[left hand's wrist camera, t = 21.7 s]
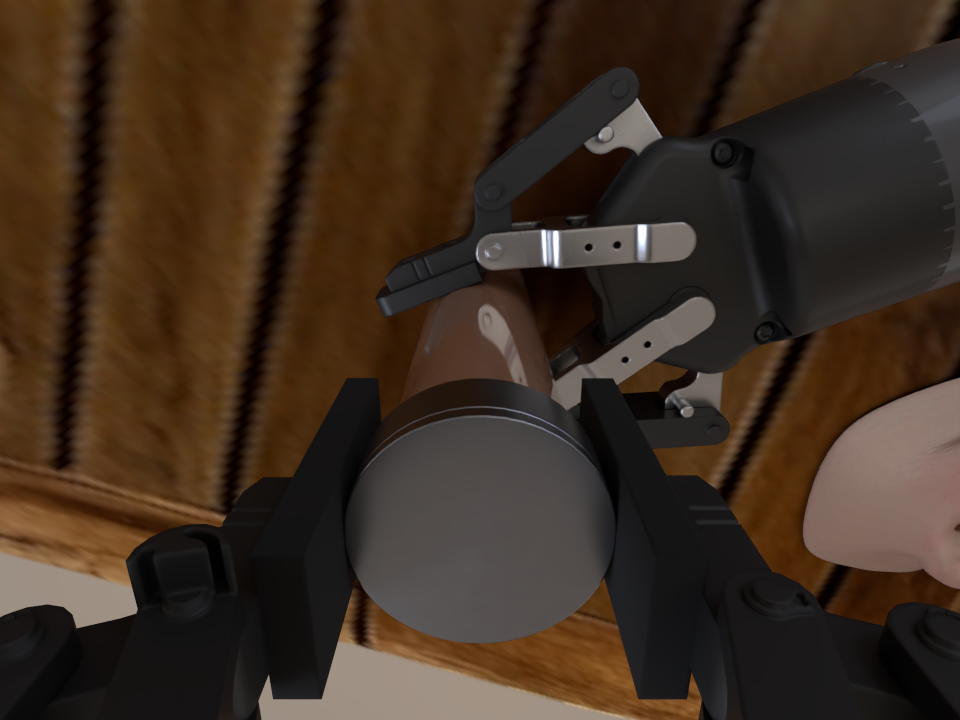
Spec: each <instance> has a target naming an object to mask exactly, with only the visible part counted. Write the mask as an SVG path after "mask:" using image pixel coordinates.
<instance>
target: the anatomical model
mask: <svg viewBox="0 0 960 720" xmlns="http://www.w3.org/2000/svg"><path fill="white" fill-rule="evenodd" d="M803 538H804V543H805V545H806V547H807V549H808V550H809V551H810V552H811V553H812V554H814V555H815V556H817V557H819V558H821V559H823V560H826V561H830V562H833V563H837V564H841V565H845V566H850V567H855V568H860V569H865V570H873V571H886V572H911V571H916V570H920V569H924V570H925V571H926V572H927V573H928V574H930V575H931V576H933V577H934V578H936V579H937V580H939V581H940V582H942V583H943V584H945V585H948V586H950V587H953V588H958V589H960V378H957V379H954V380H950V381H947V382H944V383H941V384H938V385H935V386H932V387H929V388H926V389H923V390H921V391H918V392H915V393H912V394H910V395H907V396H905V397H902V398H900V399H897V400H895V401H893V402H891V403H888V404H886V405H884V406H882V407H880V408H878V409H876V410H874V411H872V412H870V413H869V414H867V415H865V416H864V417H862V418H860V419H859V420H857V421H856V422H855V423H853V424H852V425H851V426H850V427H849V428H848V429H846V430H845V431H844V432H843V433H842V434H841V436H840V437H839V438H838V439H837V440H836V441H835V443H834V444H833V445H832V447H831V448H830V450H829V451H828V453H827V455H826V457H825V458H824V460H823V462H822V464H821V466H820V468H819V471H818V473H817V475H816V478H815V480H814V483H813V486H812V489H811V492H810V496H809V499H808V503H807V507H806V511H805V517H804V524H803Z"/></svg>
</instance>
